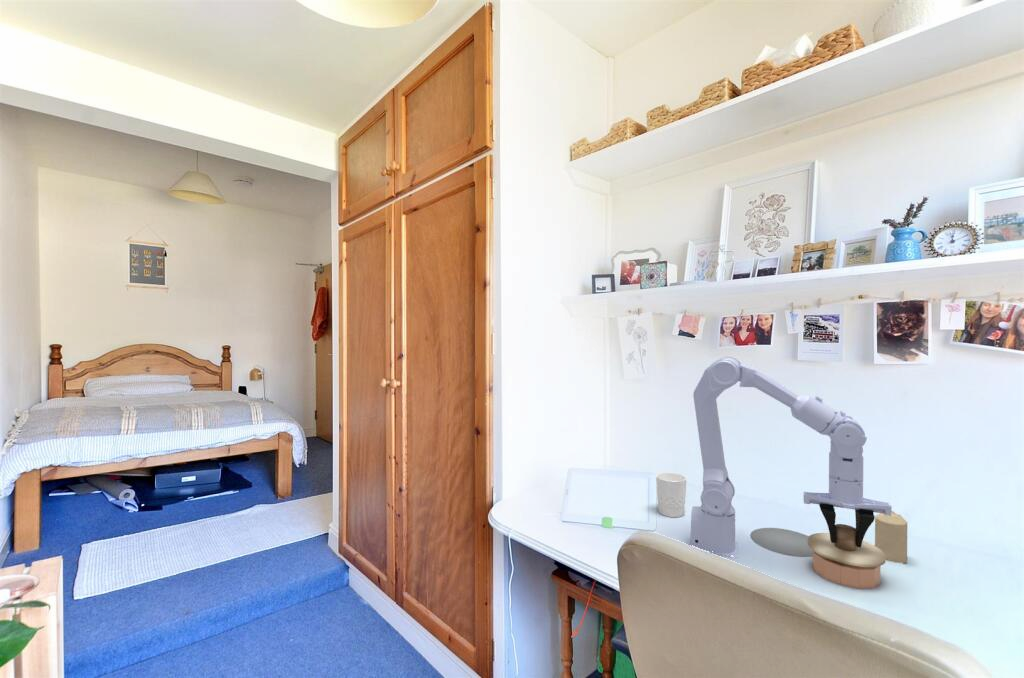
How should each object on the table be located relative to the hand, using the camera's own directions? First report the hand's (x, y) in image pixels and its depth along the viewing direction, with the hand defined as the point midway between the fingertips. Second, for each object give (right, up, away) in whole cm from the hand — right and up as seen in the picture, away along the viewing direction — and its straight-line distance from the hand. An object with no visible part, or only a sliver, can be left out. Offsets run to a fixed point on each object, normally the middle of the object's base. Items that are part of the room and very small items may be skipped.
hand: (845, 543), depth 96 cm
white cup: (-24, -6, +33) cm, 42 cm away
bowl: (0, -7, 0) cm, 7 cm away
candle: (+15, -7, +7) cm, 18 cm away
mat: (-4, -6, +15) cm, 16 cm away
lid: (0, -2, 0) cm, 2 cm away
